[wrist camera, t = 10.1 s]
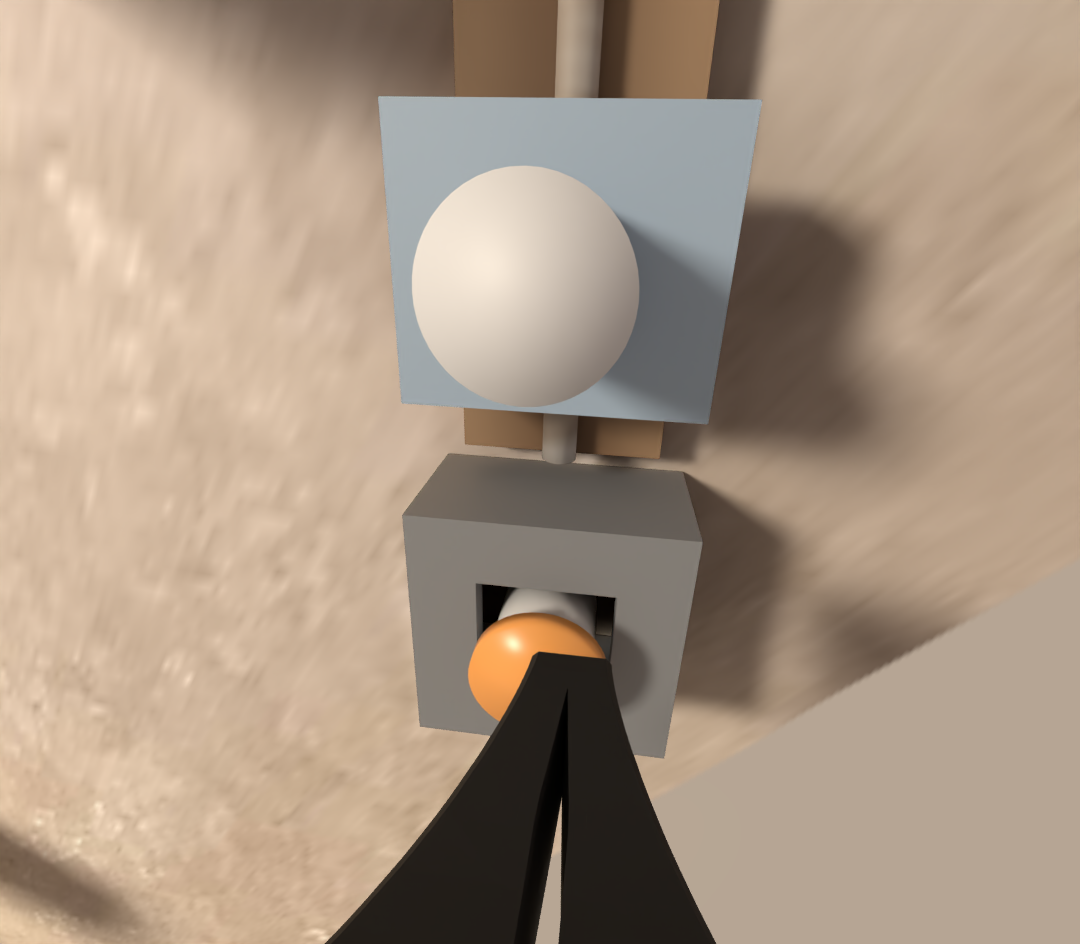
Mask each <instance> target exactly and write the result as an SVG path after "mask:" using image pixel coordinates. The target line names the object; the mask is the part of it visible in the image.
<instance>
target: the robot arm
mask: <svg viewBox="0 0 1080 944" xmlns="http://www.w3.org/2000/svg"><path fill="white" fill-rule="evenodd" d="M561 798H562V843H561V921H560V933H559V944H716V942H715V940H714V938H713V937H712V934H711V933H710V930H709V929H708V927H707V925H706V923H705V921H704V919H703V917H702V915H701V913H700V911H699V909H698V907H697V905H696V903H695V901H694V899H693V896H692V894H691V892H690V890H689V888H688V886H687V884H686V882H685V880H684V878H683V876H682V873H681V871H680V869H679V867H678V865H677V863H676V860H675V858H674V856H673V854H672V851H671V849H670V847H669V845H668V842H667V840H666V838H665V835H664V833H663V831H662V828H661V826H660V823H659V821H658V818H657V816H656V814H655V811H654V809H653V806H652V804H651V801H650V799H649V796H648V793H647V791H646V788H645V786H644V783H643V780H642V778H641V775H640V772H639V769H638V766H637V763H636V760H635V757H634V754H633V751H632V749H631V746H630V743H629V740H628V736H627V733H626V730H625V727H624V723H623V719H622V716H621V712H620V708H619V704H618V700H617V696H616V691H615V686H614V681H613V674H612V664H611V663H610V662H609V661H608V660H607V659H604V658H595V657H586V656H576V655H567V654H558V653H549V652H540V651H539V652H537V653H536V654H534V655H533V656H532V658H531V661H530V663H529V666H528V668H527V671H526V673H525V675H524V677H523V679H522V681H521V684H520V686H519V687H518V689H517V691H516V693H515V695H514V697H513V699H512V701H511V702H510V704H509V706H508V708H507V710H506V712H505V713H504V715H503V717H502V718H501V720H500V722H499V723H498V725H497V727H496V728H495V730H494V731H493V733H492V735H491V736H490V738H489V740H488V741H487V743H486V745H485V746H484V748H483V749H482V751H481V752H480V754H479V756H478V757H477V758H476V760H475V761H474V763H473V764H472V766H471V767H470V769H469V770H468V772H467V773H466V774H465V776H464V777H463V779H462V780H461V782H460V783H459V785H458V786H457V787H456V789H455V790H454V792H453V793H452V795H451V796H450V797H449V799H448V800H447V802H446V803H445V804H444V806H443V807H442V808H441V810H440V811H439V812H438V814H437V815H436V816H435V818H434V819H433V820H432V821H431V823H430V824H429V825H428V827H427V828H426V829H425V830H424V832H423V833H422V834H421V835H420V837H419V838H418V839H417V840H416V842H415V843H414V844H413V845H412V847H411V848H410V849H409V850H408V852H407V853H406V854H405V855H404V856H403V858H402V859H401V860H400V861H399V862H398V863H397V865H396V866H395V867H394V868H393V869H392V870H391V871H390V873H389V874H388V875H387V876H386V877H385V878H384V880H383V881H382V882H381V883H380V884H379V885H378V887H377V888H376V889H375V890H374V891H373V892H372V893H371V895H370V896H369V897H368V898H367V899H366V900H365V901H364V902H363V904H362V905H361V906H360V907H359V908H358V909H357V910H356V911H355V912H354V914H353V915H352V916H351V917H350V918H349V919H348V920H347V921H346V922H345V923H344V924H343V925H342V926H341V928H340V929H339V930H338V931H337V932H336V933H335V934H334V935H333V936H332V937H331V938H330V939H329V940H328V941H327V942H326V943H325V944H535V941H536V936H537V930H538V925H539V919H540V914H541V908H542V903H543V897H544V892H545V887H546V881H547V876H548V870H549V865H550V859H551V854H552V848H553V843H554V837H555V832H556V826H557V821H558V815H559V810H560V804H561Z"/></svg>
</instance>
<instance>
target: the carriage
mask: <svg viewBox="0 0 1080 944" xmlns="http://www.w3.org/2000/svg"><path fill="white" fill-rule="evenodd" d="M378 102H379V115H380V128H381V141H382V154H383V167H384V180H385V193H386V206H387V219H388V232H389V245H390V259H391V272H392V285H393V298H394V311H395V324H396V337H397V350H398V363H399V376H400V389H401V402H402V403H405V404H419V405H434V406H448V407H463V408H477V409H492V410H507V411H521V412H536V413H550V414H565V415H580V416H594V417H609V418H623V419H638V420H652V421H667V422H682V423H696V424H708V422H709V416H710V410H711V404H712V398H713V392H714V386H715V380H716V374H717V368H718V362H719V356H720V350H721V344H722V338H723V332H724V326H725V320H726V314H727V308H728V302H729V296H730V290H731V284H732V278H733V272H734V266H735V260H736V254H737V248H738V242H739V236H740V230H741V224H742V218H743V212H744V206H745V200H746V194H747V188H748V182H749V176H750V170H751V164H752V158H753V152H754V146H755V140H756V134H757V128H758V122H759V116H760V110H761V104H762V100H748V99H634V98H520V97H406V96H378Z"/></svg>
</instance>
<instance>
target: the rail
mask: <svg viewBox="0 0 1080 944" xmlns="http://www.w3.org/2000/svg"><path fill="white" fill-rule="evenodd" d="M719 1H720V0H453V35H454V71H455V97H520V98H634V99H707V93H708V85H709V77H710V70H711V62H712V55H713V47H714V39H715V32H716V24H717V16H718V9H719ZM464 428H465V444H469V445H482V446H495V447H508V448H522V449H535V450H542V458H543V460H545V461H546V462H549V463H553V464H568V463H571V462H573V461H575V459H576V453H588V454H601V455H614V456H627V457H641V458H654V459H659V458H660V450H661V443H662V435H663V428H664V421H652V420H638V419H623V418H609V417H594V416H580V415H565V414H550V413H536V412H521V411H507V410H492V409H477V408H464Z"/></svg>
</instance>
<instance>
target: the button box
mask: <svg viewBox="0 0 1080 944" xmlns="http://www.w3.org/2000/svg"><path fill="white" fill-rule="evenodd" d="M402 517H403V529H404V541H405V553H406V565H407V577H408V589H409V601H410V613H411V625H412V637H413V649H414V661H415V673H416V685H417V697H418V709H419V721H420V727H427V728H435V729H443V730H450V731H458V732H466V733H473V734H481V735H488V736H491V735H492V733H493V731H494V730H495V728H496V727H497V725H498V723H499V722H500V721H498V720H496V719H495V718H493V717H492V716H491V715H490V714H488V713H487V712H486V711H485V710H484V709H483V708H482V707H481V705H480V704H479V703H478V702H477V700H476V698H475V697H474V695H473V693H472V691H471V688H470V684H469V679H468V668H469V664H470V660H471V657H472V654H473V651H474V649H475V646H476V643H477V641H478V639H479V638H480V636H481V634H482V633H483V632H484V631H485V630H486V629H487V628H488V627H489V626H491V625H492V624H493V623H484V622H483V606H482V584H488V585H498V586H507V587H517V588H527V589H537V590H547V591H556V592H566V593H576V594H586V595H595V596H605V597H615V598H616V599H615V608H614V618H613V627H612V636H603V635H595V640H596V641H597V642H598V644H599V645H600V647H601V648H602V650H603V652H604V654H605V658H606V659H607V660H608V661H609V662H610V663H611V664H612V674H613V681H614V686H615V691H616V696H617V700H618V704H619V708H620V712H621V716H622V719H623V723H624V727H625V730H626V733H627V736H628V740H629V743H630V746H631V749H632V751H633V754H634V755H641V756H649V757H656V758H664V756H665V751H666V745H667V739H668V734H669V728H670V723H671V717H672V711H673V706H674V700H675V695H676V689H677V684H678V678H679V672H680V667H681V661H682V656H683V650H684V645H685V639H686V633H687V628H688V622H689V617H690V611H691V606H692V600H693V594H694V589H695V583H696V578H697V572H698V566H699V561H700V555H701V550H702V544H703V541H702V537H701V534H700V530H699V527H698V523H697V520H696V516H695V513H694V509H693V506H692V502H691V499H690V495H689V492H688V488H687V485H686V481H685V477H684V474H683V472H680V471H667V470H654V469H641V468H628V467H615V466H602V465H589V464H577V463H568V464H553V463H549V462H546V461H538V460H525V459H512V458H499V457H486V456H474V455H461V454H448V455H447V456H446V457H445V459H444V460H443V461H442V463H441V464H440V465H439V467H438V468H437V469H436V471H435V472H434V473H433V475H432V476H431V477H430V479H429V480H428V481H427V483H426V484H425V485H424V487H423V488H422V489H421V491H420V492H419V493H418V495H417V496H416V497H415V499H414V500H413V501H412V503H411V504H410V505H409V507H408V508H407V509H406V511H405V512H404V513H403V515H402Z"/></svg>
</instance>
